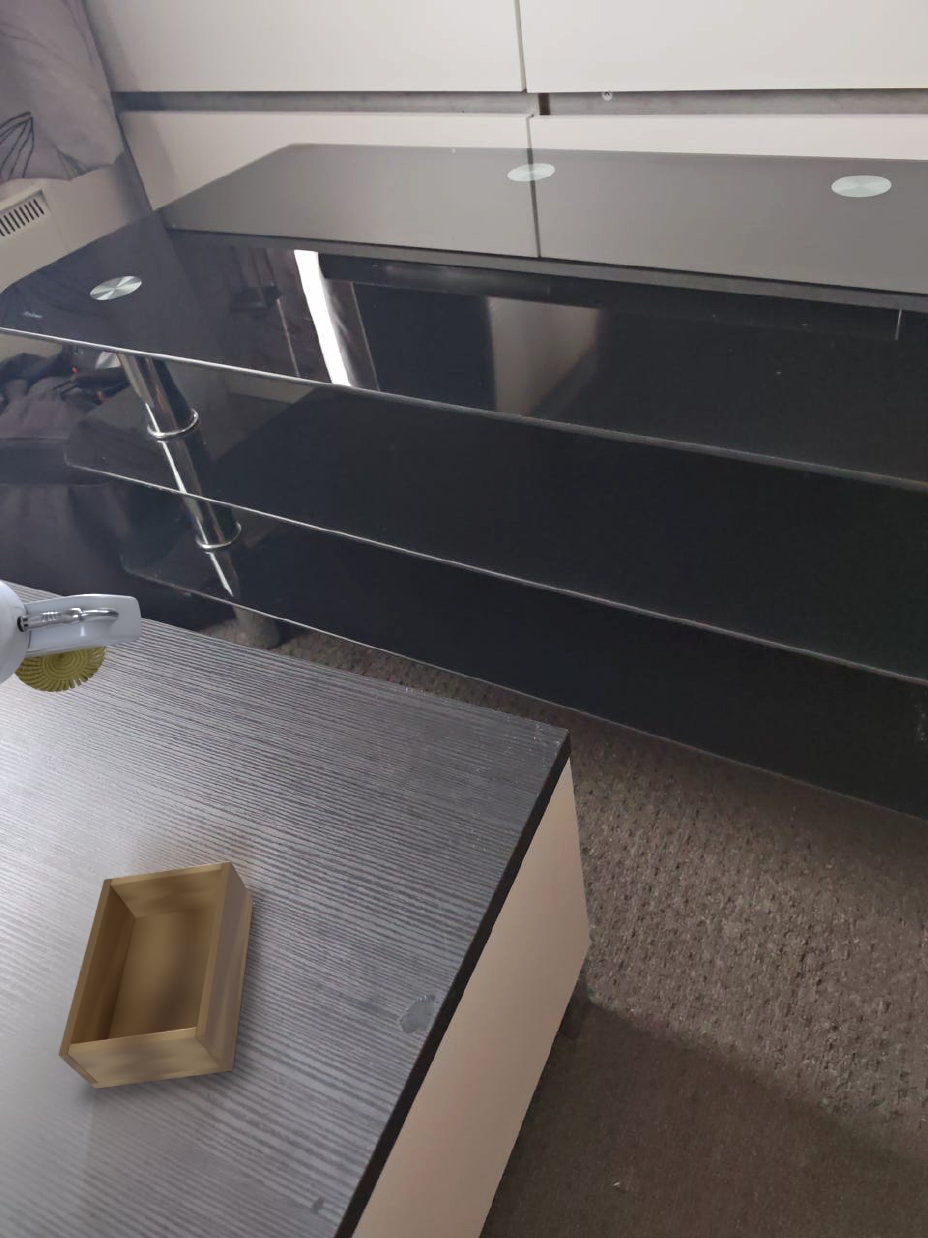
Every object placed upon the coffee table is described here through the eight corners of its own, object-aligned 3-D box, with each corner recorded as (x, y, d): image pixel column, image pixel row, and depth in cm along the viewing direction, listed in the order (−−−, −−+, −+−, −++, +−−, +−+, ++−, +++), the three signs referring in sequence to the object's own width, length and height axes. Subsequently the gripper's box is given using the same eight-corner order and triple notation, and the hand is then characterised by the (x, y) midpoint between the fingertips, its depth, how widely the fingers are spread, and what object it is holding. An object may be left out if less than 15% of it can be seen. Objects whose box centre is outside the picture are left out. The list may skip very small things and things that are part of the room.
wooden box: (94, 1089, 59) (57, 1055, 56) (133, 917, 68) (103, 879, 65) (233, 1071, 59) (205, 1035, 55) (253, 900, 68) (230, 860, 64)
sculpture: (41, 716, 81) (-3, 651, 75) (29, 691, 83) (-14, 627, 78) (126, 671, 83) (90, 605, 78) (112, 648, 86) (76, 584, 81)
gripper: (92, 568, 66) (166, 584, 80) (-177, 610, 67) (-59, 619, 81) (103, 654, 66) (175, 656, 80) (-168, 695, 67) (-51, 690, 81)
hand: (55, 637), depth 80 cm, fingers closed on sculpture, 7 cm apart
